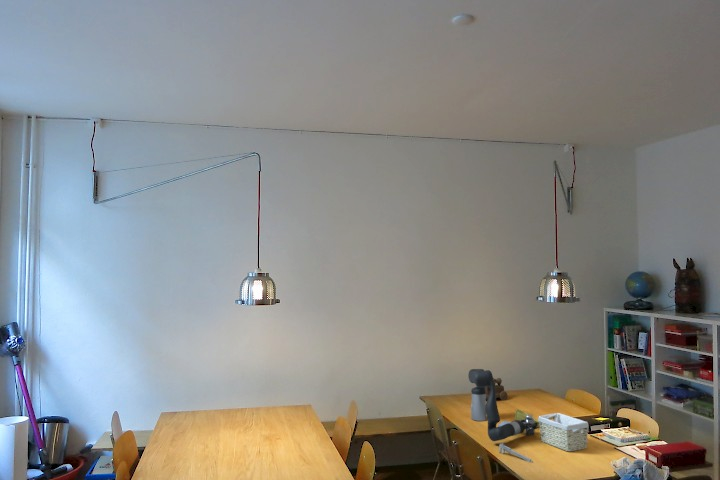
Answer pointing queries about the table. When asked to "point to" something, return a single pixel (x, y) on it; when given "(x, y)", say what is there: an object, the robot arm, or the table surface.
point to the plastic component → (523, 416)
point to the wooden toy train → (497, 390)
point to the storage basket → (563, 431)
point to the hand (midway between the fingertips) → (530, 422)
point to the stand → (503, 423)
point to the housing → (528, 420)
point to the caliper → (511, 452)
